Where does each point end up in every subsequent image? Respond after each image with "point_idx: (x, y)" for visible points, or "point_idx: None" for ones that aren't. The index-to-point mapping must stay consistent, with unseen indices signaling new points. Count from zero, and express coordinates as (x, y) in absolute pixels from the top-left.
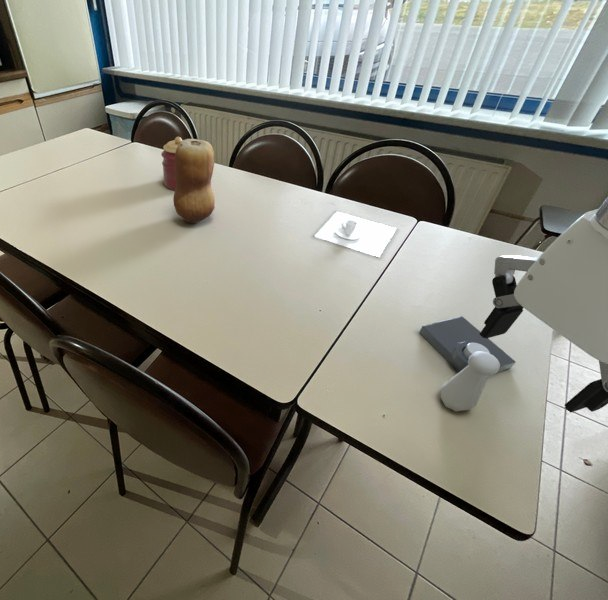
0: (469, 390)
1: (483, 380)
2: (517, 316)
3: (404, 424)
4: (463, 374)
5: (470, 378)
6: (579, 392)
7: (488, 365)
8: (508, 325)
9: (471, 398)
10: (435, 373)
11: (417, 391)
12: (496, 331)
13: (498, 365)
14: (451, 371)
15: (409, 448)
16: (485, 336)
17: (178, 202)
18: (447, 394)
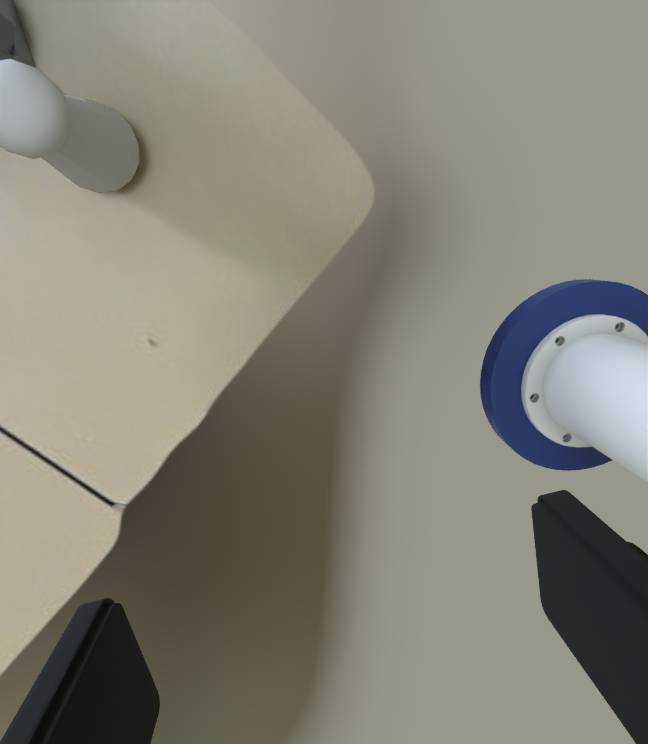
0: (101, 155)
1: (78, 120)
2: (57, 736)
3: (173, 306)
4: (53, 160)
5: (70, 153)
6: (609, 703)
7: (40, 120)
8: (101, 682)
9: (119, 146)
10: None
11: (80, 231)
12: (134, 705)
13: (36, 81)
14: None
15: (227, 321)
16: (155, 718)
17: None
18: (100, 188)
